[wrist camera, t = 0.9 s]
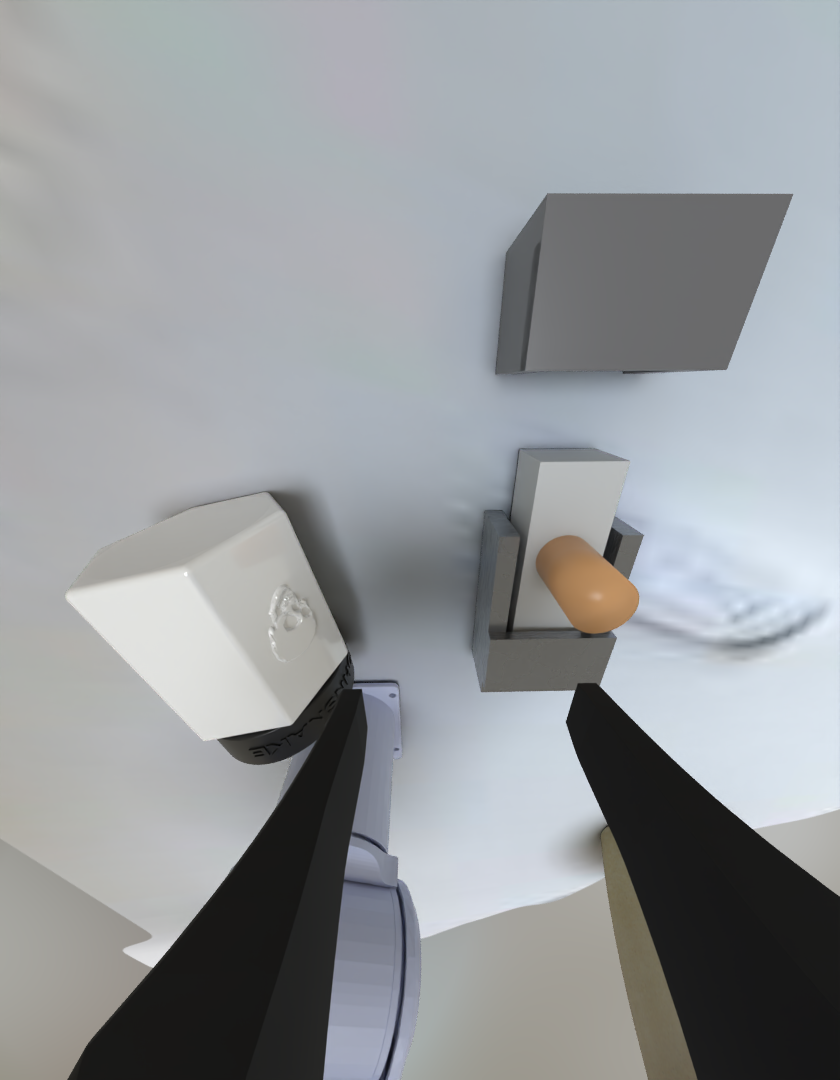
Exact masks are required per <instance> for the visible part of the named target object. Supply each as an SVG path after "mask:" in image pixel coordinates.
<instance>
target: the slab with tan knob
mask: <svg viewBox="0 0 840 1080" xmlns="http://www.w3.org/2000/svg"><path fill="white" fill-rule="evenodd" d="M629 465H630V461H629V460H626V459H623V458H620V457H617V456H615V455H612V454H609V453H606V452H603V451H601V450H598V449H520V452H519V459H518V467H517V474H516V482H515V489H514V497H513V504H512V512H511V519H510V523H511V524H512V525H513V527H514V528H515V530H516V531H517V533H518V534H519V535H520V542H519V549H518V555H517V562H516V568H515V575H514V581H513V588H512V594H511V601H510V608H509V614H508V621H507V627H506V632H530V631H582V632H585V633H594V634H595V633H604V632H608V631H611V630H613V629H615V628H617V627H619V626H621V625H622V624H624V623H625V622H626V621H628V620H629V619H630V618H631V617H632V615H633V614H634V613H635V611H636V609H637V607H638V604H639V593H638V591H637V589H636V587H635V586H634V585H633V584H632V583H631V582H630V581H629V580H628V579H626V578H625V577H624V576H623V575H622V574H621V573H620V572H619V571H618V570H617V569H616V568H614V567H613V566H612V565H611V564H610V563H609V562H608V561H607V560H606V559H605V558H603V554H604V550H605V547H606V543H607V540H608V536H609V533H610V530H611V526H612V523H613V519H614V516H615V513H616V509H617V506H618V502H619V499H620V495H621V492H622V489H623V485H624V482H625V478H626V475H627V471H628V468H629Z"/></svg>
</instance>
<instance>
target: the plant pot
mask: <svg viewBox="0 0 840 1080" xmlns="http://www.w3.org/2000/svg"><path fill="white" fill-rule="evenodd" d="M601 846H602V855H603V864H604V872H605V879H606V886H607V893H608V899H609V905H610V911H611V917H612V922H613V928H614V934H615V939H616V944H617V949H618V954H619V959H620V964H621V969H622V973H623V978H624V982H625V987H626V992H627V996H628V1000H629V1005H630V1009H631V1013H632V1017H633V1021H634V1025H635V1030H636V1034H637V1037H638V1041H639V1045H640V1049H641V1053H642V1057H643V1061H644V1065H645V1069H646V1072H647V1077H648V1080H697V1077H696V1073H695V1070H694V1067H693V1064H692V1060H691V1057H690V1054H689V1051H688V1047H687V1044H686V1041H685V1038H684V1034H683V1031H682V1028H681V1025H680V1021H679V1018H678V1015H677V1012H676V1009H675V1006H674V1003H673V1000H672V997H671V994H670V991H669V988H668V985H667V982H666V979H665V976H664V973H663V970H662V967H661V964H660V961H659V958H658V955H657V952H656V949H655V946H654V943H653V940H652V938H651V935H650V932H649V929H648V926H647V923H646V920H645V918H644V915H643V912H642V909H641V906H640V904H639V901H638V898H637V895H636V893H635V890H634V887H633V885H632V882H631V879H630V876H629V874H628V871H627V868H626V866H625V863H624V860H623V858H622V856H621V853H620V851H619V848H618V846H617V844H616V841H615V839H614V837H613V835H612V833H611V830H610V828H609V826H608V827H606V828H605V829H604V830H603V831H602V833H601Z"/></svg>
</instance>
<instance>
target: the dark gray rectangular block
mask: <svg viewBox="0 0 840 1080" xmlns="http://www.w3.org/2000/svg"><path fill="white" fill-rule="evenodd" d="M792 196H793V194H547V195H546V197H545V198H544V199H543V201H542V202H541V204H540V205H539V207H538V208H537V209H536V211H535V212H534V214H533V215H532V217H531V218H530V219H529V221H528V222H527V224H526V225H525V227H524V228H523V229H522V231H521V232H520V234H519V235H518V237H517V238H516V239H515V241H514V242H513V244H512V245H511V247H510V248H509V249H508V251H507V252H506V263H505V274H504V285H503V296H502V307H501V318H500V329H499V340H498V351H497V363H496V374H524V373H534V372H544V371H624V372H623V374H644V373H665V372H686V371H708V370H727V368H728V365H729V362H730V360H731V357H732V354H733V352H734V349H735V346H736V344H737V341H738V339H739V336H740V333H741V331H742V328H743V325H744V323H745V320H746V317H747V315H748V312H749V310H750V307H751V304H752V302H753V299H754V296H755V294H756V291H757V288H758V286H759V283H760V280H761V278H762V275H763V273H764V270H765V267H766V265H767V262H768V259H769V257H770V254H771V251H772V249H773V246H774V244H775V241H776V238H777V236H778V233H779V230H780V228H781V225H782V222H783V220H784V217H785V215H786V212H787V209H788V207H789V204H790V201H791V199H792Z"/></svg>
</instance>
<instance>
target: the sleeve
mask: <svg viewBox="0 0 840 1080" xmlns="http://www.w3.org/2000/svg"><path fill="white" fill-rule="evenodd" d="M643 536H644V535H643V534H641V533H640V532H638V531H637V530H635V529H634V528H632V527H631V526H629V525H628V524H626V523H625V522H623V521H622V520H620V519H618V518H617V517H615V516H614V519H613V523H612V526H611V530H610V533H609V536H608V540H607V543H606V547H605V550H604V554H603V558H605V559H606V560H607V561H608V562H609V563H610V564H611V565H612V566H613V567H614V568H616V569H617V570H618V571H619V572H620V573H621V574H622V575H623V576H624V577H625V578H626V579H629V576H630V573H631V570H632V568H633V565H634V562H635V559H636V556H637V553H638V550H639V547H640V545H641V542H642V539H643ZM519 542H520V535H519V534H518V533H517V531H516V530H515V528H514V527H513V525H512V524H511V523H510V521H509V520H508V518H507V517H506V515H505V514H504V513H503V511H502V510H493V511H485V515H484V525H483V536H482V547H481V558H480V568H479V579H478V590H477V601H476V612H475V622H474V633H473V644H472V653H473V658H474V662H475V667H476V671H477V676H478V681H479V685H480V690H481V692H512V691H565V690H576V687H577V684H578V683H597V684H598V685H599V686H600V683H601V680H602V677H603V675H604V672H605V669H606V666H607V664H608V661H609V658H610V655H611V653H612V650H613V647H614V644H615V642H616V639H617V637H616V636H615V635H614V634H613V632H612V631H608V632H604V633H595V634H594V633H585V632H582V631H530V632H506V627H507V621H508V614H509V608H510V601H511V594H512V588H513V581H514V575H515V568H516V562H517V555H518V549H519Z"/></svg>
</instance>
